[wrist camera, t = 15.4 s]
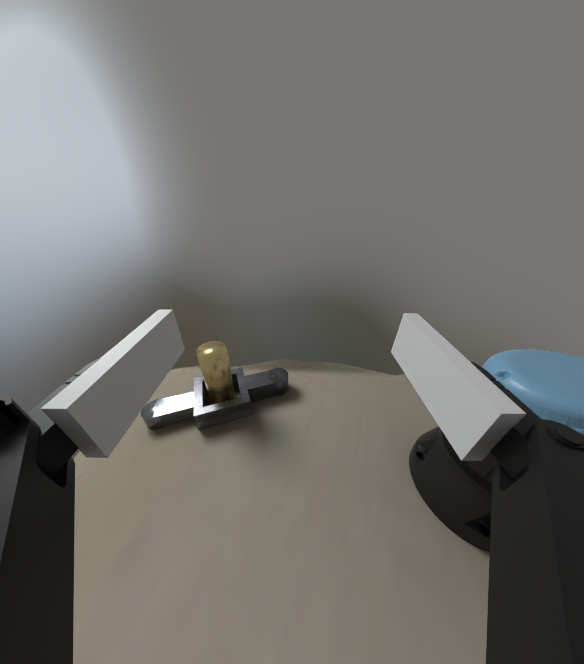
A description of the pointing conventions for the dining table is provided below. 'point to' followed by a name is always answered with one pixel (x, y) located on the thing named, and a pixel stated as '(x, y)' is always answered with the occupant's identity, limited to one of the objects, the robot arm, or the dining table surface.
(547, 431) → the robot arm
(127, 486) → the dining table surface
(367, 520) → the dining table surface
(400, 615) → the dining table surface
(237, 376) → the chain end
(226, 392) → the gold tall cylinder
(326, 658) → the dining table surface
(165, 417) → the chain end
